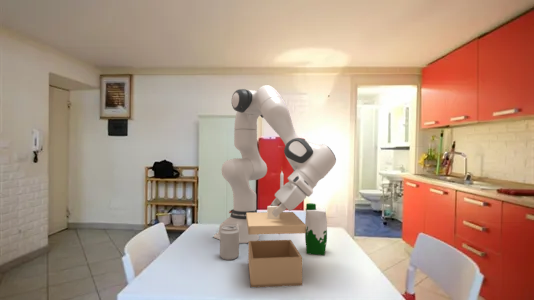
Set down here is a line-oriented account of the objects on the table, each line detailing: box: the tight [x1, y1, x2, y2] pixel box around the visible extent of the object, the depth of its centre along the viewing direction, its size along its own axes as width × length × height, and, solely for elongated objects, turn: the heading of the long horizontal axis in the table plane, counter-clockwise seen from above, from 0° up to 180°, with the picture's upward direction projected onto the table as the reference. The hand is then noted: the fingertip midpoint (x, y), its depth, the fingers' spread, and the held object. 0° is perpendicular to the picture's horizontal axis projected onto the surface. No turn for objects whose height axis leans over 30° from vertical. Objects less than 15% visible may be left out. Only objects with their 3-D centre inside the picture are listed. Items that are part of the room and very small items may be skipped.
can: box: [219, 225, 240, 261], centre depth 107 cm, size 8×8×12 cm
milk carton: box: [304, 202, 328, 256], centre depth 114 cm, size 9×9×20 cm
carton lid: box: [246, 205, 306, 235], centre depth 92 cm, size 18×20×6 cm
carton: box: [247, 239, 303, 288], centre depth 92 cm, size 16×18×9 cm
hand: (271, 212), depth 92 cm, fingers open, 8 cm apart
